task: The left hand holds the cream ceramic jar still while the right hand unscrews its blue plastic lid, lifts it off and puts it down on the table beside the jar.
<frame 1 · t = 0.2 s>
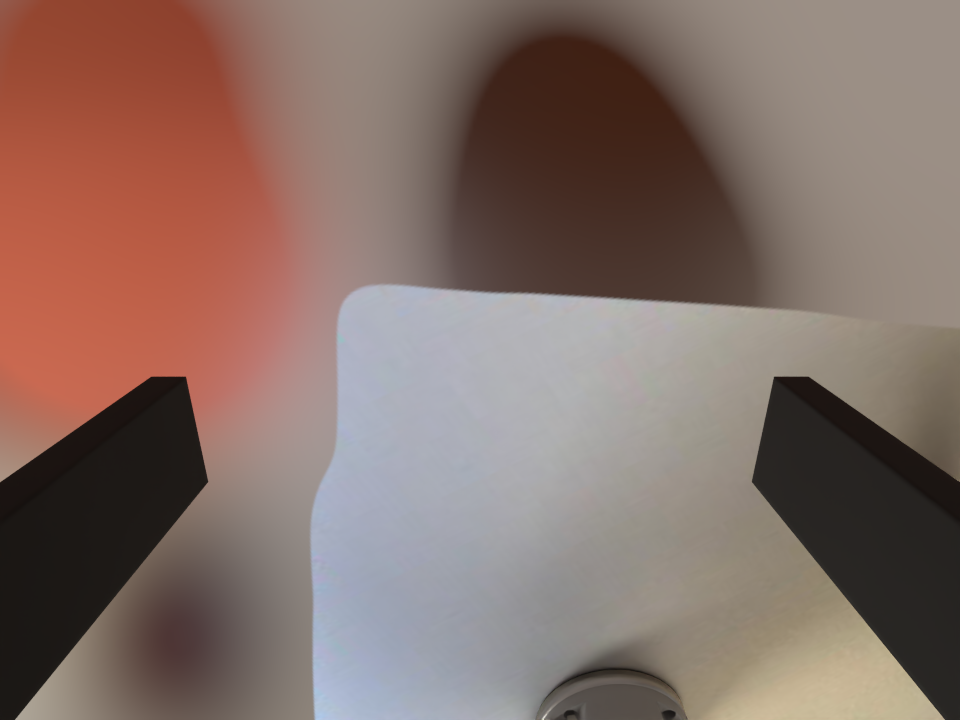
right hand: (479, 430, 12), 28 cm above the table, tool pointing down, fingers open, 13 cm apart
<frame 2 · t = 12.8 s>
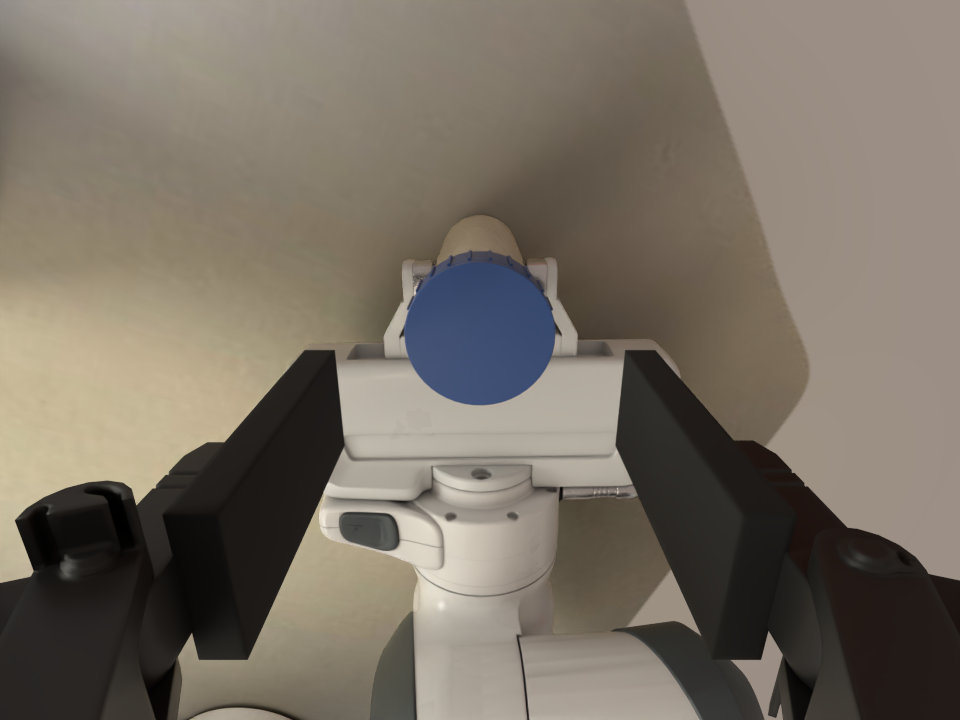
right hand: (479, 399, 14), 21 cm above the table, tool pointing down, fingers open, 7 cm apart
left hand: (478, 260, 27), fingers closed on jar, 4 cm apart
lid: (479, 334, 19), point 15 cm above the table, screwed on, not yet turned
jar: (479, 253, 33), on the table, touching left hand
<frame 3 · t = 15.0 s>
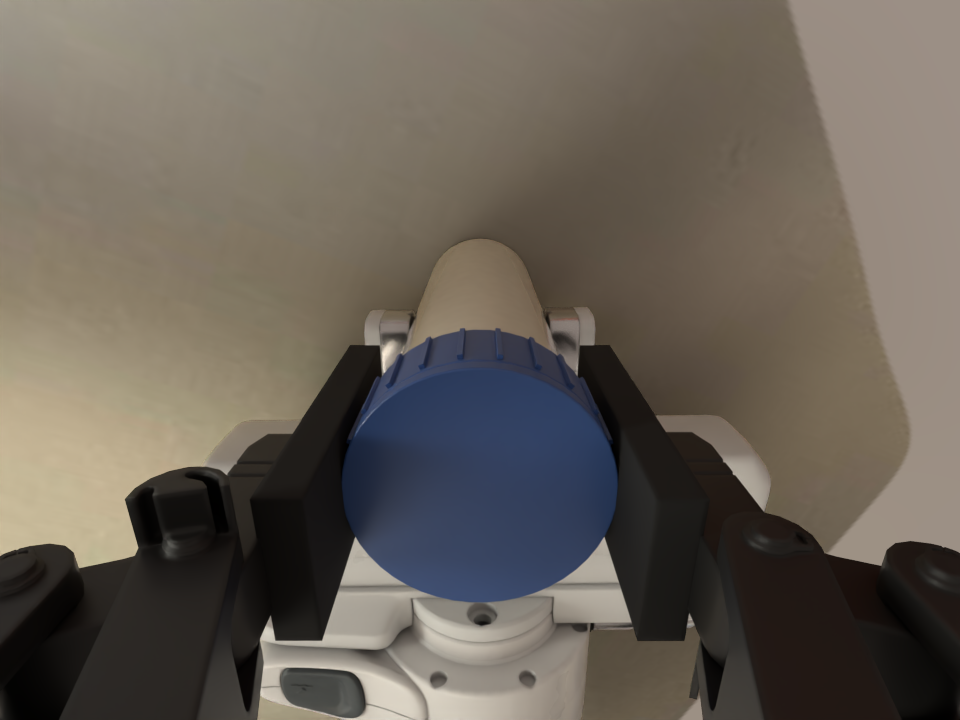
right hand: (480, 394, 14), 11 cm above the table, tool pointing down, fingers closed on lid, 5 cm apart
lid: (479, 485, 10), point 15 cm above the table, screwed on, not yet turned, touching right hand
jar: (479, 289, 25), on the table, touching left hand
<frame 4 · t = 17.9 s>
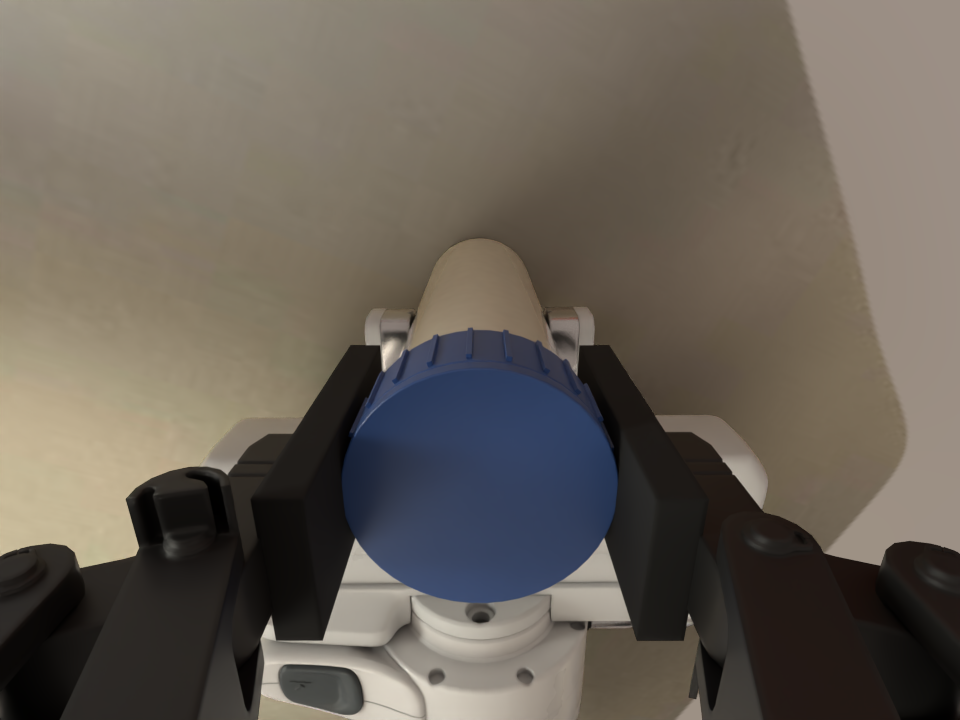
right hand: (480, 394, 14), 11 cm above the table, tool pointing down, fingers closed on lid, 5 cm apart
lid: (479, 486, 10), point 15 cm above the table, turned 91° so far, risen 0.1 cm, still on its thread, touching right hand
jar: (479, 289, 25), on the table, touching left hand
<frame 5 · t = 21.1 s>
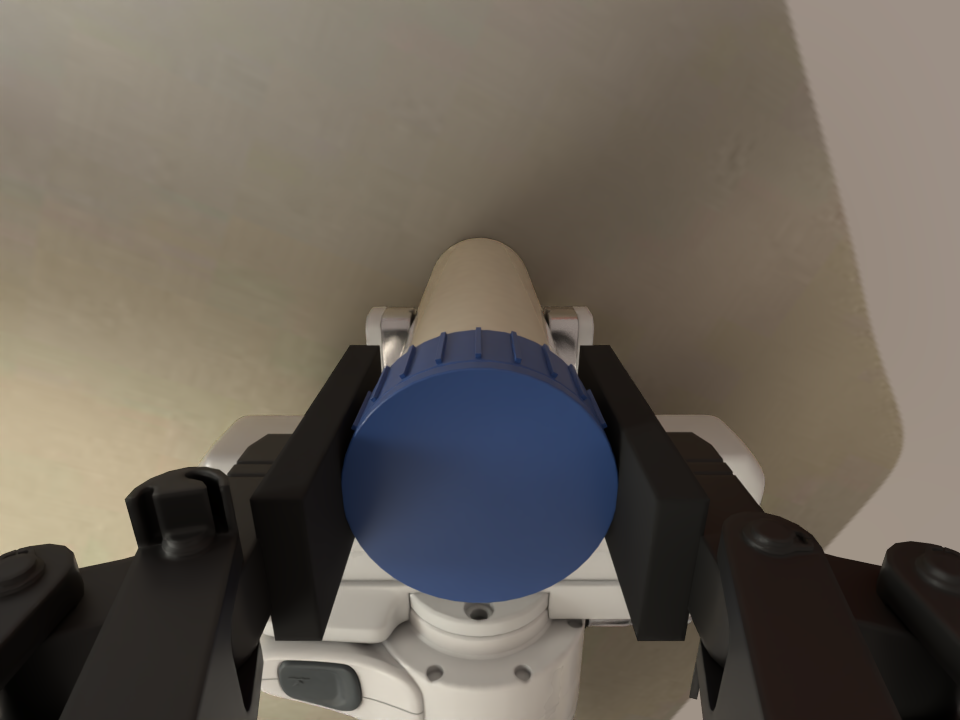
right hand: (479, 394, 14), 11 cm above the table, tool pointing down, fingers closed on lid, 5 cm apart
lid: (479, 486, 10), point 16 cm above the table, turned 181° so far, risen 0.2 cm, still on its thread, touching right hand
jar: (479, 288, 25), on the table, touching left hand
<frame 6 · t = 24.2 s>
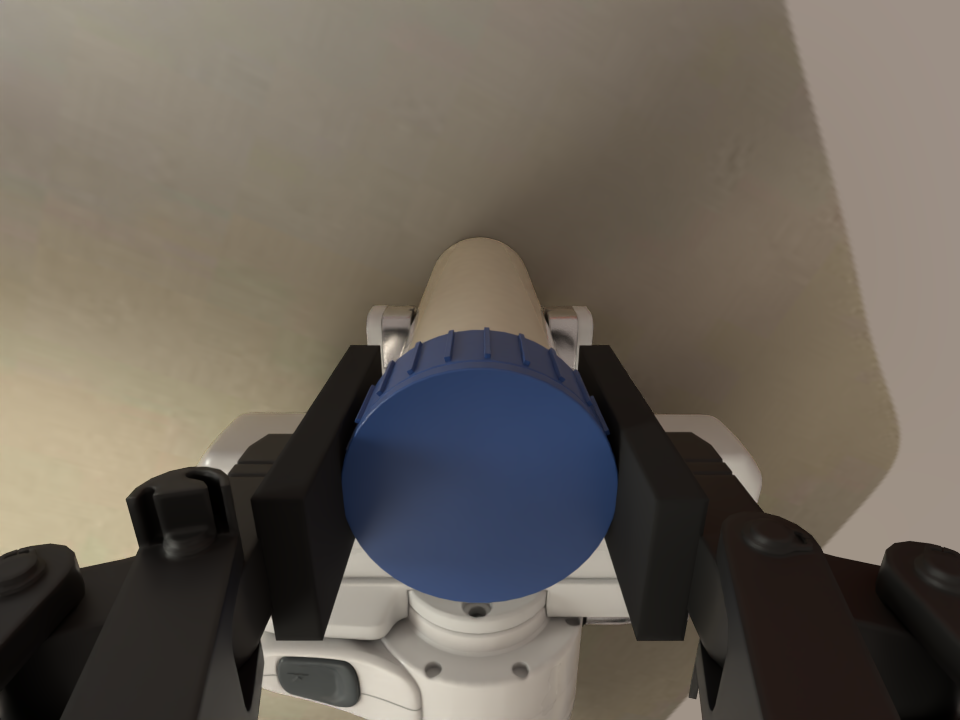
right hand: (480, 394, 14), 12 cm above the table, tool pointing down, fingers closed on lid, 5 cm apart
lid: (479, 486, 10), point 16 cm above the table, turned 272° so far, risen 0.4 cm, still on its thread, touching right hand
jar: (479, 287, 25), on the table, touching left hand
when the right hand's fingers open (0 cm above the table, at t = 30.6 s): lid drops 3 cm, point 2 cm above the table.
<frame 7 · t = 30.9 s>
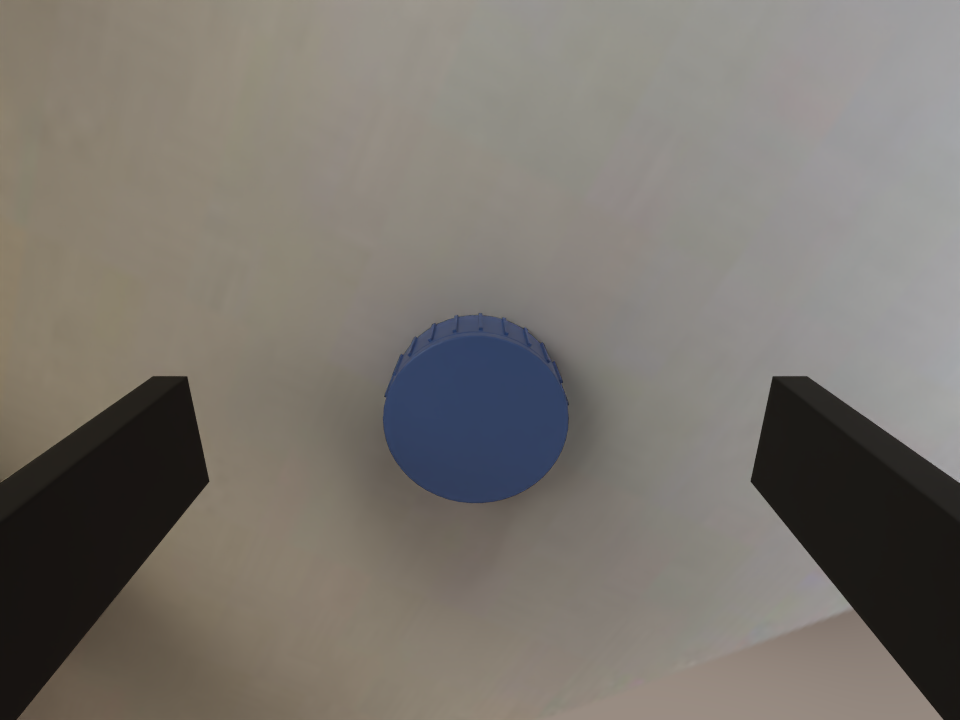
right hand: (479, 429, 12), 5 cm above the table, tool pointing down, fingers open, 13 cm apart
lid: (475, 418, 15), point 2 cm above the table, off its thread
when the left hand's fingers open (7 cm above the table, at t = 31.3 s): jar stays where it is, on the table.
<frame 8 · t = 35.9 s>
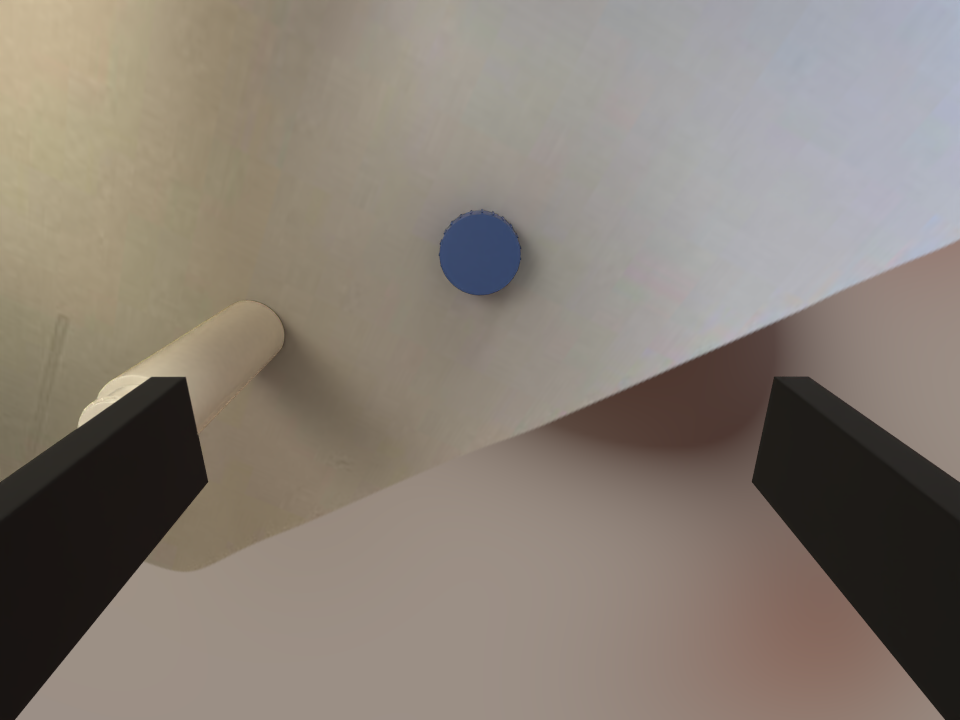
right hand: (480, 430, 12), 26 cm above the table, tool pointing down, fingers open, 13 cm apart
lid: (480, 254, 35), point 2 cm above the table, off its thread
jar: (252, 331, 39), on the table
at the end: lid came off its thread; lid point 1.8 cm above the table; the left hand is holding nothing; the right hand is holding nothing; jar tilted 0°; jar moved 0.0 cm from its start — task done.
